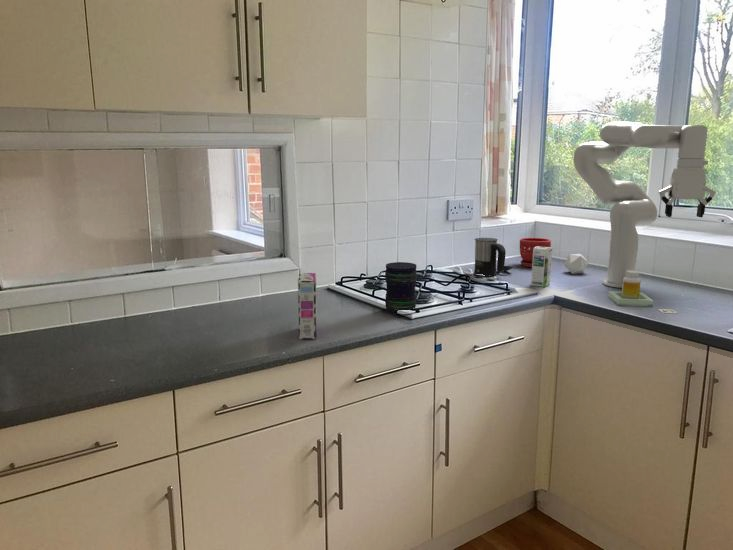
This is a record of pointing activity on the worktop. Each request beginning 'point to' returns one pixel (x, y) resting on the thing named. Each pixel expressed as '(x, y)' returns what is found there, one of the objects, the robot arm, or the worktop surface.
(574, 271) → the die
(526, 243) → the plant pot
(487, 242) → the milk frother
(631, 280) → the supplement bottle
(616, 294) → the green tray
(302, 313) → the candy bar box
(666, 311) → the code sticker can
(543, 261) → the syrup box
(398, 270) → the storage jar
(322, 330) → the worktop surface
